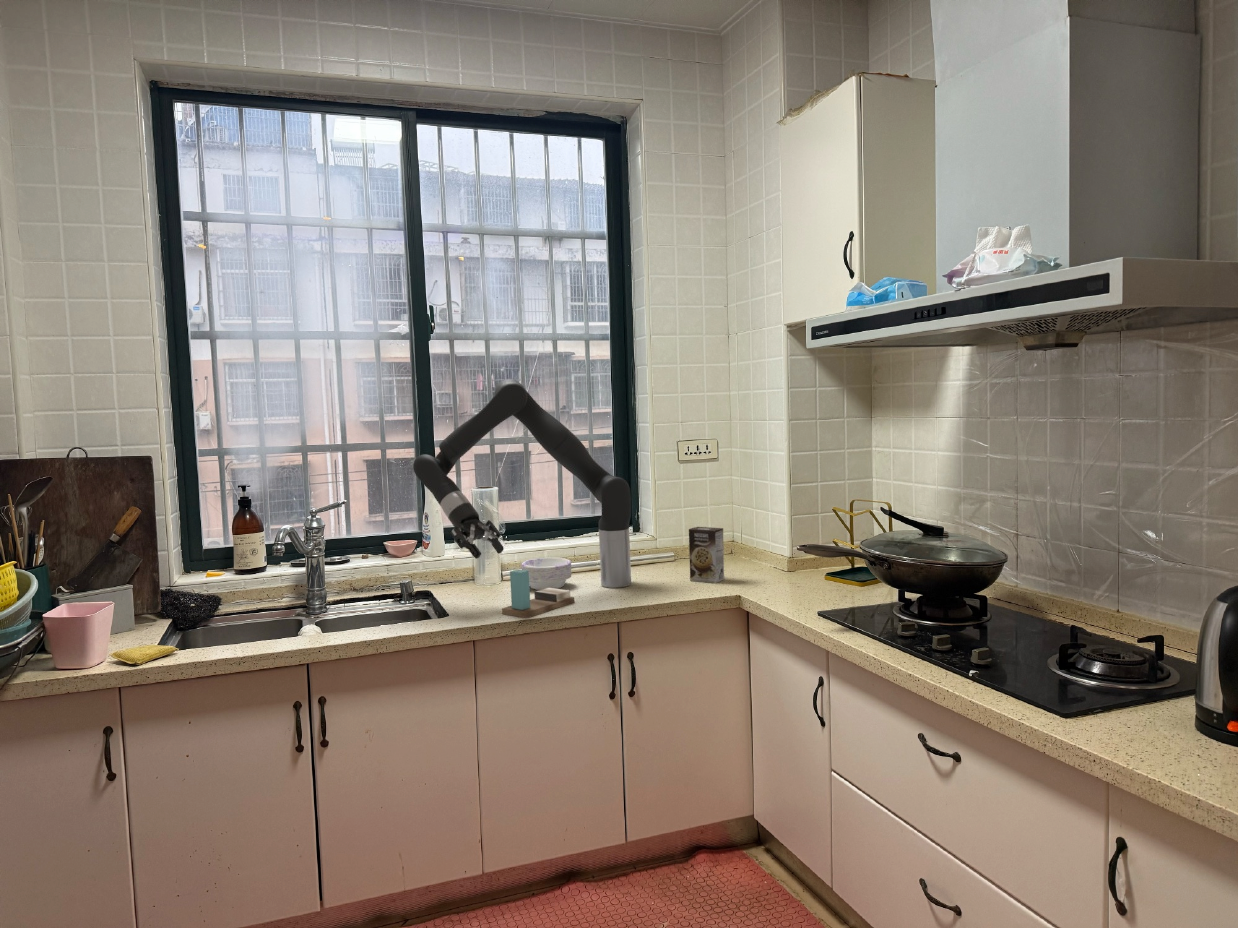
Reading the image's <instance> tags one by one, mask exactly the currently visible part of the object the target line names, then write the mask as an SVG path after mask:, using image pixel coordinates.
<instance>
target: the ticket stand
mask: <svg viewBox="0 0 1238 928" xmlns="http://www.w3.org/2000/svg"><path fill="white" fill-rule="evenodd" d="M570 603H571V604H574V603H575V596H571V590H569V589H561V588H558V589H555V588H546V589H543V590H537V591H536V590H534V598H530V608H527V609H524V610H520V609H514V608H512V605H509V606H506V607H502V608H501V613H502V615H505V616H512V617H518V616H519V618H525V619H528V618H531V617H534V616H536V615H541V614H543V613H546V612H550V611H553V610H555V608H556V609H558V608H560V607H564V606H568V605H569V604H570ZM530 616H531V617H530Z"/></svg>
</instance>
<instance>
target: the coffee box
mask: <svg viewBox="0 0 1238 928" xmlns="http://www.w3.org/2000/svg"><path fill="white" fill-rule="evenodd" d="M688 547H689V548H688V549H689V550H688V552H689V557H688V558H689V581H690V582H700V583H709V584H717V583H719V582H722V581H724V580H725V558H724V556H725V555H724V554H725V551H724V528H723V527H708V526H694V527H692V528H689V529H688Z"/></svg>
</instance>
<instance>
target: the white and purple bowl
mask: <svg viewBox="0 0 1238 928" xmlns="http://www.w3.org/2000/svg"><path fill="white" fill-rule="evenodd" d="M521 570H527V571H529V588H531V589H533V590H535V591H536V590H537V591H539V590H543V589H546V588H555V589H561V588H563V586H564V585H565V584H566V582H567V580H568V579H570V578H572V575H573V574H572V560H569V559H567V558H562V557H539V558H532V559H527V560H525V561H523V562H522V563H521Z"/></svg>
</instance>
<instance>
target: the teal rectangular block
mask: <svg viewBox="0 0 1238 928" xmlns="http://www.w3.org/2000/svg"><path fill="white" fill-rule="evenodd" d="M509 576H510V577H509V578H510V582H509V583H510V597H511V598H510V599H511V601H510V602H511V606H512V608H514V609H520V610H524V609H527V608H530V600H531V592H530V591H531V590H530V585H529V571H527V570H522V569H519V568H518V569H515V570H510V571H509Z"/></svg>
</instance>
